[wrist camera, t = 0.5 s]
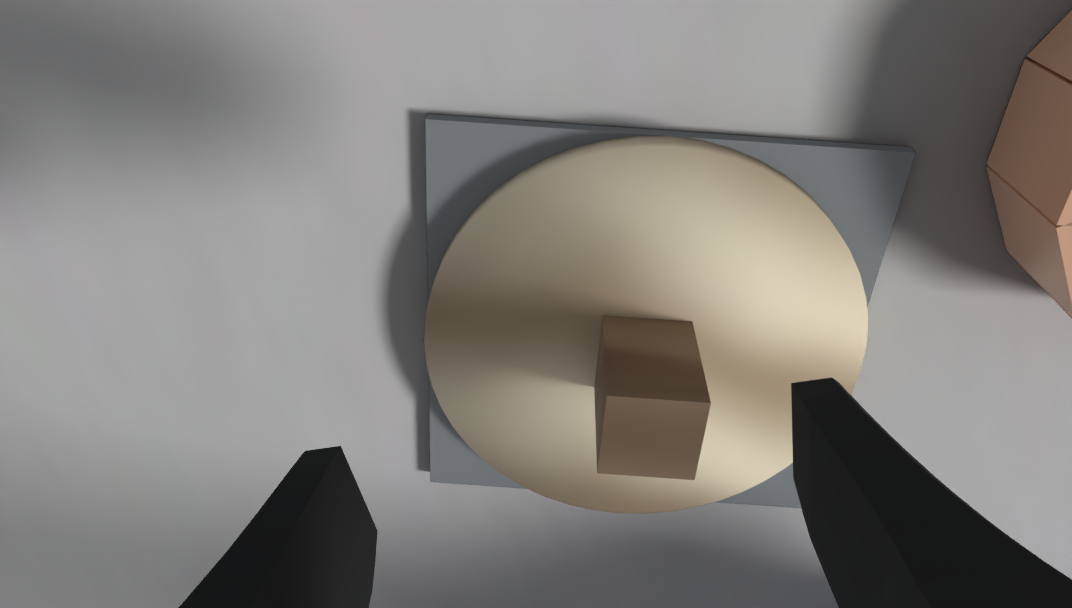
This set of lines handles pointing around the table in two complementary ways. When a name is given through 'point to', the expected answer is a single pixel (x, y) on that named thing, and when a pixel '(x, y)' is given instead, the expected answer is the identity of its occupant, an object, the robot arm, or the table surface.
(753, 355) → the lid
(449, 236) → the mat
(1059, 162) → the dish
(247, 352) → the table surface
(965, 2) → the table surface
